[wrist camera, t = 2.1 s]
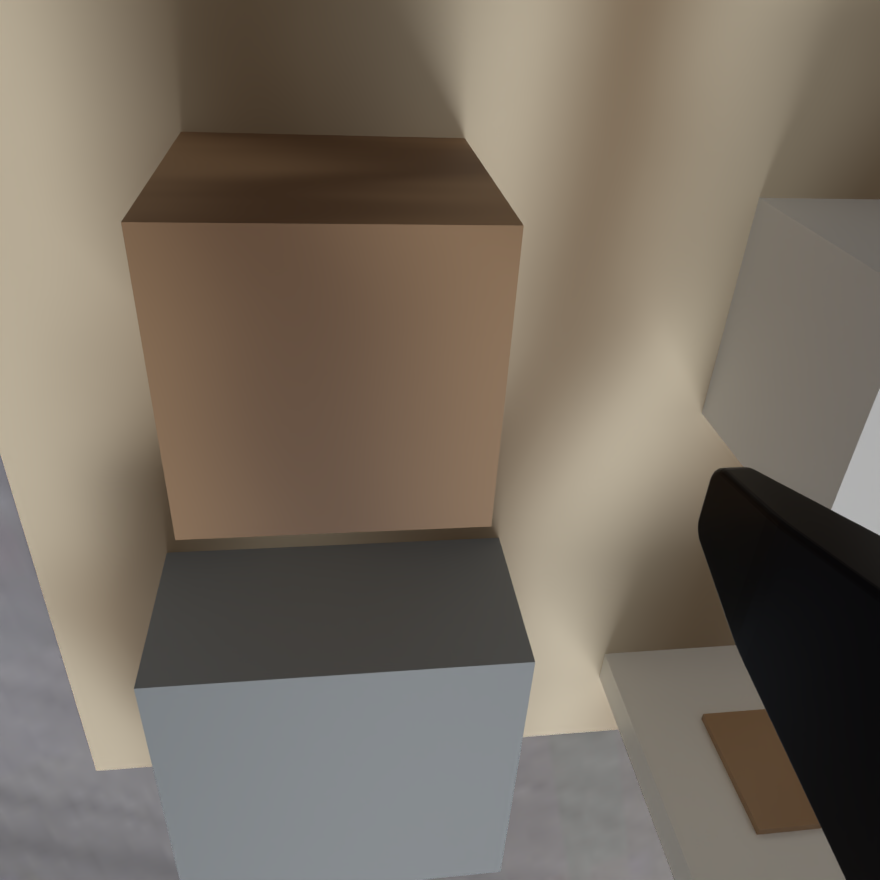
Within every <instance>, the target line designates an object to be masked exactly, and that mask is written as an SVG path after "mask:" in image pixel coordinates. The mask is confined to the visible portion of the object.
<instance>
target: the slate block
mask: <svg viewBox="0 0 880 880" xmlns="http://www.w3.org/2000/svg"><path fill="white" fill-rule="evenodd" d="M534 667H535V659H534V656H533V652H532V649H531V646H530V642H529V639H528V635H527V632H526V628H525V625H524V622H523V618H522V615H521V611H520V608H519V604H518V601H517V598H516V594H515V591H514V587H513V584H512V580H511V577H510V574H509V570H508V567H507V563H506V560H505V556H504V553H503V550H502V546H501V543H500V539H499V538H482V539H459V540H437V541H415V542H393V543H370V544H348V545H326V546H304V547H281V548H259V549H237V550H215V551H192V552H170V553H167V554H166V558H165V562H164V566H163V570H162V574H161V578H160V583H159V587H158V591H157V595H156V599H155V603H154V607H153V611H152V616H151V620H150V624H149V628H148V632H147V636H146V640H145V644H144V649H143V653H142V657H141V661H140V665H139V669H138V673H137V677H136V682H135V686H134V692H135V696H136V700H137V704H138V709H139V713H140V717H141V721H142V725H143V729H144V734H145V738H146V742H147V746H148V750H149V754H150V759H151V763H152V767H153V771H154V775H155V780H156V784H157V788H158V792H159V796H160V800H161V805H162V809H163V813H164V817H165V821H166V825H167V830H168V834H169V838H170V842H171V846H172V850H173V855H174V859H175V863H176V867H177V871H178V875H179V880H424V879H434V878H443V877H453V876H463V875H473V874H483V873H492V872H500V871H501V865H502V859H503V853H504V847H505V841H506V835H507V829H508V823H509V817H510V811H511V805H512V799H513V793H514V787H515V781H516V775H517V769H518V763H519V757H520V751H521V745H522V739H523V733H524V727H525V721H526V715H527V709H528V703H529V697H530V691H531V685H532V679H533V673H534Z"/></svg>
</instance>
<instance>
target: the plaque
mask: <svg viewBox="0 0 880 880" xmlns="http://www.w3.org/2000/svg"><path fill="white" fill-rule="evenodd" d="M599 678H600V680H601V683H602V686H603V689H604V691H605V694H606V697H607V699H608V702H609V705H610V707H611V710H612V713H613V716H614V718H615V721H616V724H617V726H618V729H619V732H620V734H621V737H622V740H623V743H624V745H625V748H626V751H627V753H628V756H629V759H630V761H631V764H632V767H633V769H634V772H635V775H636V778H637V780H638V783H639V786H640V788H641V791H642V794H643V796H644V799H645V802H646V805H647V807H648V810H649V813H650V815H651V818H652V821H653V823H654V826H655V829H656V832H657V834H658V837H659V840H660V842H661V845H662V848H663V850H664V853H665V856H666V858H667V861H668V864H669V867H670V869H671V872H672V875H673V877H674V880H846V879H845V877H844V875H843V873H842V871H841V869H840V866H839V864H838V862H837V860H836V858H835V856H834V854H833V852H832V849H831V847H830V845H829V843H828V841H827V839H826V837H825V835H824V832H823V830H822V828H821V826H820V824H819V822H818V820H817V818H816V815H815V813H814V811H813V809H812V807H811V805H810V803H809V801H808V799H807V796H806V794H805V792H804V790H803V788H802V786H801V784H800V782H799V779H798V777H797V775H796V773H795V771H794V769H793V767H792V765H791V762H790V760H789V758H788V756H787V754H786V752H785V750H784V748H783V746H782V743H781V741H780V739H779V737H778V735H777V733H776V731H775V729H774V726H773V724H772V722H771V720H770V718H769V716H768V714H767V712H766V709H765V707H764V705H763V703H762V701H761V699H760V697H759V695H758V692H757V690H756V688H755V686H754V684H753V682H752V680H751V678H750V676H749V673H748V671H747V669H746V667H745V665H744V663H743V661H742V658H741V656H740V654H739V652H738V649H737V647H736V645H730V646H715V647H700V648H685V649H670V650H654V651H639V652H624V653H609V654H605V655H604V660H603V664H602V668H601V673H600V677H599Z"/></svg>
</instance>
